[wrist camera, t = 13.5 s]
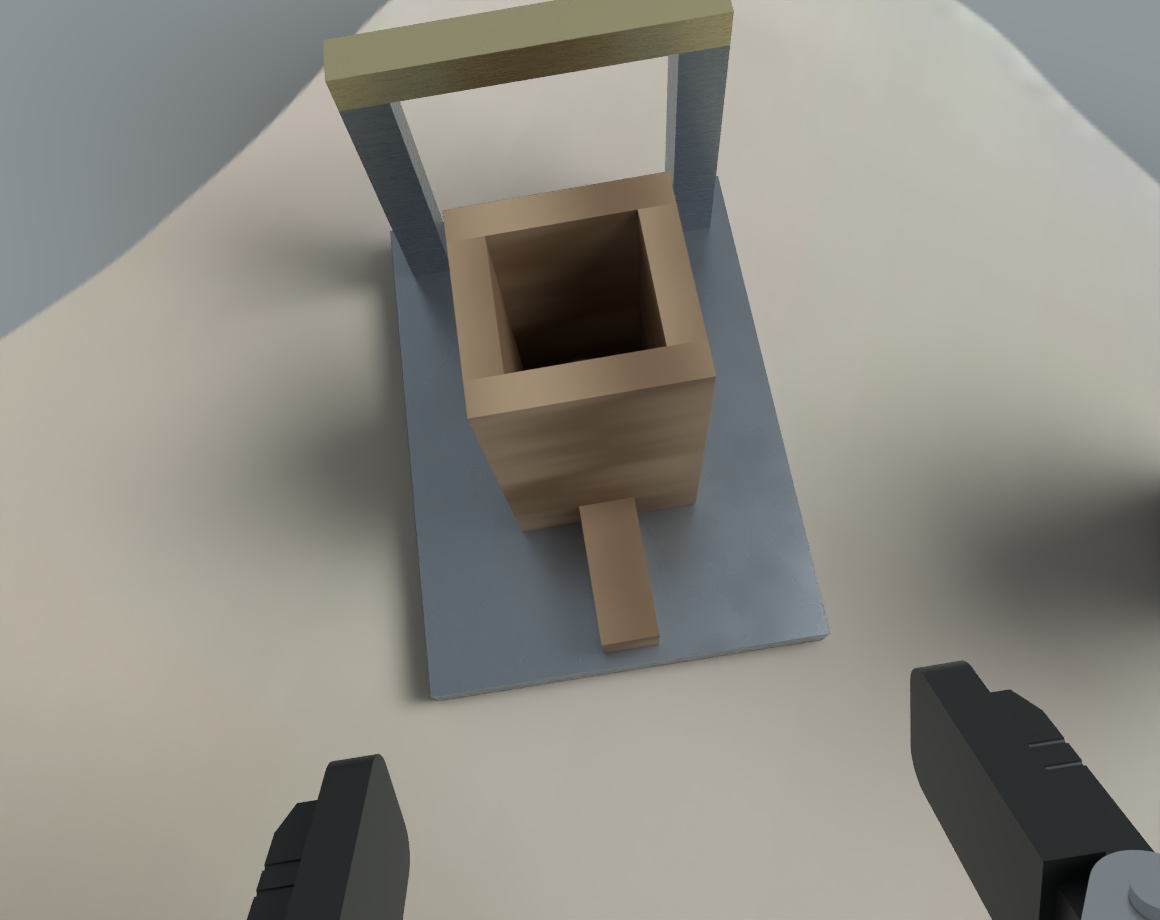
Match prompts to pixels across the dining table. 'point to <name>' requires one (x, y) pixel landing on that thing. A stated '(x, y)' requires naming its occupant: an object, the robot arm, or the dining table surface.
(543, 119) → the dining table surface
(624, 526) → the wooden scoop with handle
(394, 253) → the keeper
